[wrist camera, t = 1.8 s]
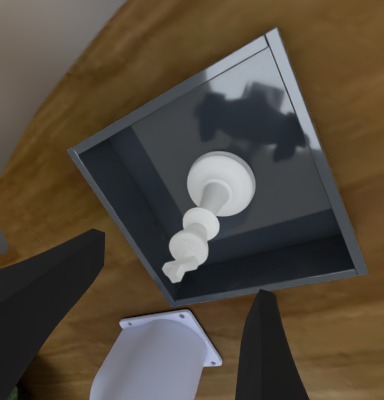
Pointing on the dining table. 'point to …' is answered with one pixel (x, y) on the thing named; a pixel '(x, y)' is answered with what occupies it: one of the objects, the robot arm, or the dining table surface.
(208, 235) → the chess piece
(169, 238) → the square open tray
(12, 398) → the stone basin
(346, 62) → the dining table surface
